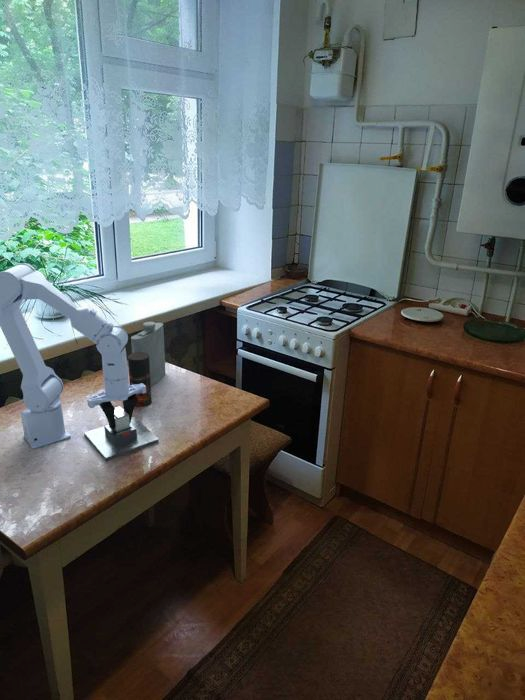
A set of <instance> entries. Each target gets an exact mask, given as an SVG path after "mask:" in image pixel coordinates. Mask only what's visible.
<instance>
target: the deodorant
mask: <svg viewBox="0 0 525 700" xmlns="http://www.w3.org/2000/svg"><path fill="white" fill-rule="evenodd" d="M127 368H128V381H129V385H137V384H142V383H143V384H144V385H145V386H146V393H139V394H136V397H137V398H138V403H137V404H136V406H135V408H138V409H139V408H141V407H142V408H146V407H149V406H151V405H152V401H153V398H152V397H153V396H152V387H151V379H150V362H149V354H148V353H145V352H135V353H132V352H131V353H130V354H128V355H127ZM142 408H141V409H142Z"/></svg>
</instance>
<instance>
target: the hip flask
mask: <svg viewBox="0 0 525 700" xmlns="http://www.w3.org/2000/svg"><path fill="white" fill-rule="evenodd" d="M142 326H143V330H142V331H140V332H138V333H137V334H135V335H132V336H131V337H130V340H131V344H130V345H131V353H135V352H145V353H148V354H149V362H150V379H151V388H152V387H153V386H155V385H156V384H157V383H158V381H159V382H160V381H161V380H162V379H163V378H164V377H165V375H166V374H167V373H166V358H165V357H166V356H165V355H166V354H165V334H164V332H165V331H164V323H163V322H153V321H146V322H143V325H142Z"/></svg>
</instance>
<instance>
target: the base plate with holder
mask: <svg viewBox="0 0 525 700" xmlns="http://www.w3.org/2000/svg"><path fill="white" fill-rule="evenodd" d="M83 434H84V437H85V439H87V441H88V442H89V443H90V444H91V445H92V447H93V448H94V449H95V450H96V451H97V453H98V454H99V455H100V456H101V457H102V458H103V459H104V461H105V462H108V461H111V460H113V459H116V458H119V457H122V456H125V455H128V454H131V453H134V452H136V451H138V450H142V449H145V448H148V447H150V446H153V445H156V444H158V443H159V441H160V440H159V438H158V437H157V436H156V435H155V434H154V433H152V432H151V430H150V429H148V428H147V426H145V425H144V424H143V423H142V422H141V421H140V420H138V418H136V416H132V418H131V423H130V429H129V430H126V431H123V432H120V433H117V434H115V433H114V432H113V430H112V429H111V427H110V426H109V424H106V425H104V426H101V427H97V428H95V429H90V430H87V431H84V433H83Z"/></svg>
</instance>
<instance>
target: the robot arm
mask: <svg viewBox="0 0 525 700" xmlns="http://www.w3.org/2000/svg"><path fill="white" fill-rule="evenodd" d="M24 300H40V301H41V302H43V303H45V304H46V305H48V306H49V307H51V308H53V309H54V310H55V311H57V312H59V313H60V314H62V315H63V316H65V317H66V318H68V319H69V321H70V325H71V327H72V328H74V329H75V330H76V331H77V332H79V333H80V334H81V335H83V336H84V337H85V338H87V339H88V340H90V341H91V342H93V343H94V344H96V345H95V347H96V349H97V351H98V352H99V353H100V355H101V362H102V365H101V366H102V373H103V374H102V375H103V383H104V384H103V385H104V391H102V392H99V393H97V394H95V395H93V396H91V397H87V398H86V401H87V402H86V403H87V407H89V408H90V409H94V408H95V407H96V406H99V407H100V409H101V410H102V412H103V414H104V415H105V418H106V420H107V422H108V425H109V426H110V427H111V428H112V429H114V428H115V420H114V411H115V408H116V407H115V406H114V405H113V403H112V402H116V401H119V402H122V406H123V409H124V410H125V411H126V412H127V413H128V414H129V422H130V423H131V418H132V417H133V413H134V411H135V408H136V407H135V406H136V404H137V403H138V398H137V397H136V394H139V393H146V386H145V385H144V384H143V383H142V384H137V385H130V382H129V368H128V357H127V351H126V347H125V346H126V345H127V344H128V340H129V335H128V332H127V331H126V330H125V329H124V327H123V326H121V325H118V324H113V323H111V322H108V321H107V320H105V319H104V318H103V317H102V316H100V315H98V314H97V313H98V312H97V310H95V309H94V308H91V309H90V308H89V307H80V306H78V305H77V304H76V303H74V302H73V301H72V300H71V299H70V298H69V297H67V296H66V295H65V294H64V293H63V292H61V291H60V290H59V289H58V288H57V287H55V286H54V285H53V284H52V283H50V282H49V280H47V278H46V277H45V276H44V274H43V273H42V272H41V271H39V270H36V269H35V267H33V266H32V265H30V264H28V263H24V262H20V263H17V264H15V265H14V266H12V267H9V268H8V269H6V270H2V271H0V329H1V332H2V333H3V335H4V338H5V340H6V342H7V345H8V346H9V348H10V350H11V353H12V355H13V356H14V359H15V361H16V363H17V365H18V368H19V369H20V372H21V374H22V380H21V383H20V389H21V391H22V395H23V397H22V401H23V404H24V406H25V407H26V408H25V409H23V410H21V411H20V418H21V423H22V424H21V425H22V429H23V436H24V438H25V440H26V441H27V443H28V444H29V446H30V448H31V449H32V450H33V449H38V448H41V447H44V446H48V445H50V444H54V443H57V442H60V441H62V440H63V441H64V440H66V439H67V440H68V439H70V438H71V436H72V435H71V433H70V432H69V431H68V430H67V429H66V428H65V421H64V414H63V406H62V400H61V394H62V393H63V391H64V388H65V387H64V382H63V380H62V379H61V378H60V377H59V376H58V375H57V373H55V371H54V369H53V368H51V367H49V366H47V365H46V364H45V362H44V359H43V357H42V355H41V352H40V351H39V349H38V348H39V347H38V346H37V343H36V342H35V340H34V337H33V335H32V333H31V331H30V328H29V325H28V324H27V321H26V319H25V317H24V315H23V313H22V310H21V307H20V306H21V305H22V303H23V301H24Z"/></svg>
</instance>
